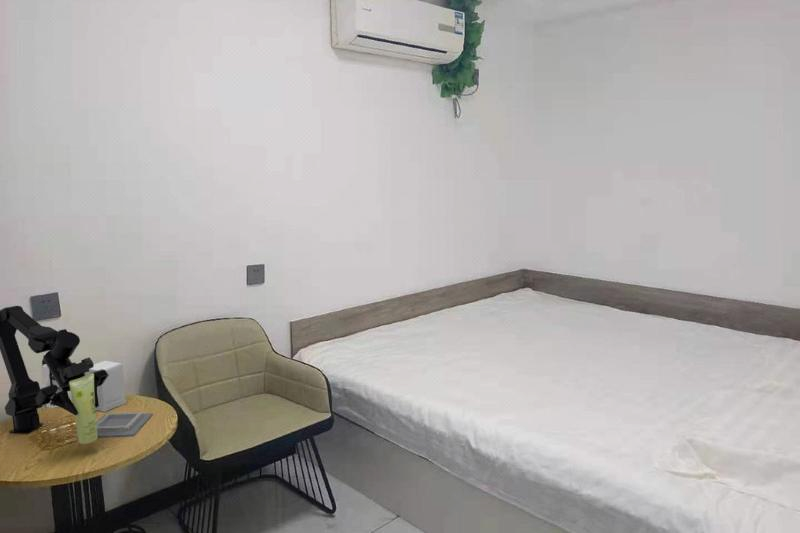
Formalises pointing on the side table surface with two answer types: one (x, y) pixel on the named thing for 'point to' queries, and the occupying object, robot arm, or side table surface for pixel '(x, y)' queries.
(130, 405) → the side table surface
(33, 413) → the robot arm
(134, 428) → the mat
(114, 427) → the collar
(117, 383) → the supplement box
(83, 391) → the tube
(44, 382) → the beer glass
